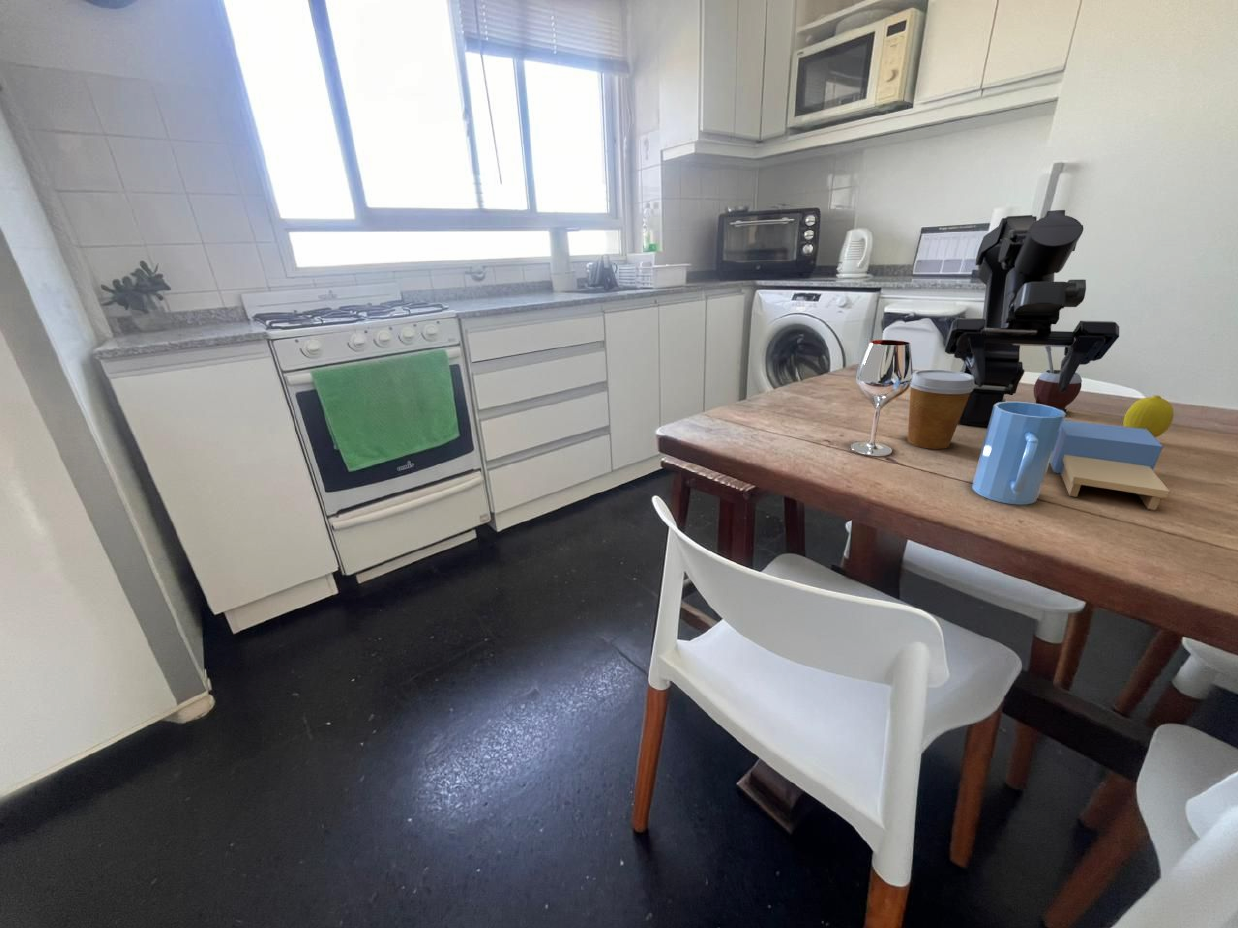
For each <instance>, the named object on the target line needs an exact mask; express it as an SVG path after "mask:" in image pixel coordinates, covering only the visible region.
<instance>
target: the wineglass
mask: <svg viewBox="0 0 1238 928" xmlns="http://www.w3.org/2000/svg"><path fill="white" fill-rule="evenodd" d="M913 365H914V364H913V355H912V346H911V342H910V341H905V340H898V339H877V340H876V339H875V340H874V339H873V340H870V341H869V342H868V344H867V346H866V348H865V350H864V353H863V355H862V357H861V359H860V361H859V364H858V367H857V369H856V373H855V376H854V379H855V384H856V387H857V389H858V390H859V392H860V393H861V394H862V395H863V396H864V397H865V398H866V399H867V400H868V401H869V403H871V405H872V406H873V408H874V411H873V412H874V414H873V419H872V425H871V431H870V435H869V439H868V441H856V442H853V443H851V444H850V450H851V451H853V452H855V453H857V454H860V455H864V456H868V457H869V456H870V457H886V456H889V455H891V454H892V452H893V449H892V448H891V447H890V446H888V445H886V444H883V443H880V442H876V438H877V430H878V425H879V419H880V414H881V410H882V409H883V408H884V407H885V406H886V405H888V404H889V403H891V402H892V401H895V400H896V399H898V398H899V397H901V396H902V395H903V394H905V393H906V392H907V391H908V390H909V389H910V388H911V386H910V385H911V383H912V379H913V373H914V367H913Z"/></svg>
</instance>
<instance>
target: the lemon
mask: <svg viewBox="0 0 1238 928" xmlns="http://www.w3.org/2000/svg"><path fill="white" fill-rule="evenodd" d="M1174 413H1175V411H1174V407H1173V406H1172V404H1171V403H1170V402H1169V401H1168V400H1166V399H1165V398H1162V397H1161V396H1160V395H1157V394H1155V395H1152V396H1148V397H1143V398H1141V399H1138V400H1136V401H1135V402H1133V403H1132V404H1131V405H1130V406H1129V408H1128V409H1127V411H1126V412H1125V415H1124V417H1123V421H1122V422H1123V423H1122V424H1123V425H1122V426H1123V427H1131V428H1140V429H1147V430H1148V431H1149V432H1150V433H1151V434H1152V435H1153V436H1154V437H1155V438H1157V437H1160V436H1161V435H1163V434H1164V433H1166V432H1167V431H1168V430H1169V428H1170V427H1171V425H1172V423H1173V420H1174Z"/></svg>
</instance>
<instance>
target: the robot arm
mask: <svg viewBox="0 0 1238 928" xmlns="http://www.w3.org/2000/svg"><path fill="white" fill-rule="evenodd" d="M1083 232H1084V225H1083V224H1082V223H1081V221H1079V220H1078V219H1076V218H1075V217H1073V216H1070V215H1066V210H1065V209H1058V210H1057V209H1056V210H1046V213H1045V215H1044V216H1043V217H1041V218H1039V219H1038V220H1037V215H1036V216H1034V215H1033V214H1025V215H1023V214H1022V215H1009V216H1006V217H1002V218H1001V220H1000V222H999V224H998V226H997V227H995V228H993V229H992V230H991V231H990V232H988V233H987V234H985V235H984V236H983V237H982V240H981V242H980V245H979V247H978V250H977V254H976V258H975V266H978V268H977V278H978V279H979V280H980V281H981V282H982V283H983V284H984V285H985V291H984V292H985V293H984V301H983V311H982V318H975V317H971V318H969V317H957V318H955V319H954V320H953V321H952V322H951V325H950V328H949V331H948V334H947V337H946V341H945V346H944V353H946V354H948V355H953V357H954V358H955V359H960V360H961V361H962V362H963V364H962V367H961V369H960V371H959V372H962V373H966V374H970V375H972V376H973V377H974V384H975V385H976V387H975V388H974V389H973V391H972V392H971V393H970V395H969V398H968V400H967V403H966V405H965V408H964V410H963V413H962V415H961V418H960V420H959V422H958V425H967V426H976V427H983V428H988V425H989V421H990V417H991V414H992V410H993V406H994V405H995V404H996V403H1000V402H1007V400H1006V399H1005V398H1004V397H1005V395H1009V396H1013V395H1014V394H1016V393H1017V390H1018V386H1019V384H1020V382H1021V380H1022V378H1023V376H1024V374H1025V371H1026V370H1025V369H1024V365H1023V361H1020V355H1021V354H1020V353H1021V352H1020V350H1021V347H1023V346H1025V347H1045V346H1047V347H1052V348H1063V350H1064V353H1063V355H1064V357H1063V358H1062V360H1061V362H1060V369H1059V370H1060V379H1059V391H1060V393H1064V391H1065V390H1066V389H1067V387H1068V385H1069V383H1070V381H1071V379H1072V378H1073V376H1074V374H1075V372H1076V373H1077V370H1078V369H1079V367H1080V366H1081V365H1082V366H1085V365H1088V364H1090V363H1091V362H1095V361H1099V360H1101V359H1102V358H1104V357H1105V355H1106V354H1107V352H1108V351H1109V350H1110V349H1111V347H1112V346H1113V345H1114V344H1115V342H1117V340H1118V339H1119V337H1120V326H1119V324H1118V323H1117V322H1115V321H1113V320H1079V322H1078V323H1077V325H1076V327H1074V329H1073V330H1072V331H1068V330H1067V331H1063V330H1052V325H1057V323H1058V322H1059V320H1060V313H1061V312H1060V311H1061V310H1062V309H1064V308H1077V307H1078V306H1079V305H1080V304H1081V303H1083V301H1084V299H1085V298H1086V297H1085V296H1086V293H1087V292H1086V291H1087V280H1086V279H1068V280H1067V281H1055V274H1058V273H1060V272H1061V271H1062V270H1063V268H1064V267H1065V265H1066V263H1067V262H1068V259H1070V256H1071V254H1072V253H1073V252H1075V251H1076V248H1077V247H1076V246H1077V244H1078V242H1079V240H1080V238H1081V236H1082V235H1083Z"/></svg>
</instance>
